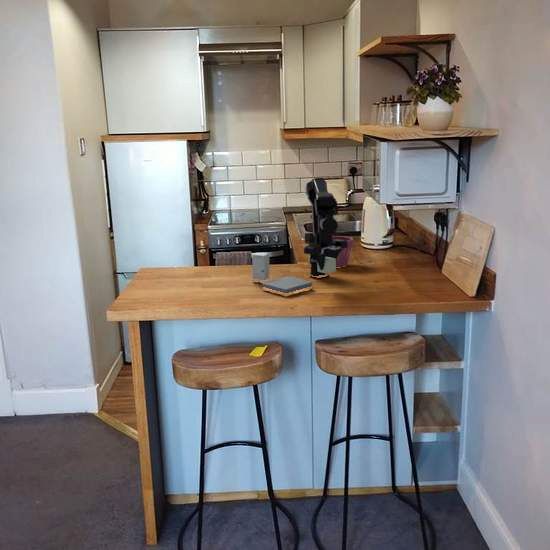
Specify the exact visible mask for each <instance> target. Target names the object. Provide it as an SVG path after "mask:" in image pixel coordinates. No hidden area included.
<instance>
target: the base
mask: <svg viewBox="0 0 550 550" xmlns="http://www.w3.org/2000/svg"><path fill="white" fill-rule="evenodd" d="M311 286H312V287H313V282H312V281H310V280H304V279H300V278H297V277H292V276H284V277H280V278H277V279H273V280H269V281H268V282H265V283H262V284H261V288H262V287H266V288H269V289H272V290H276V291H280V292H283V293H289V292H293V291H296V290H300V289H303V288H307V287H311Z"/></svg>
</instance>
